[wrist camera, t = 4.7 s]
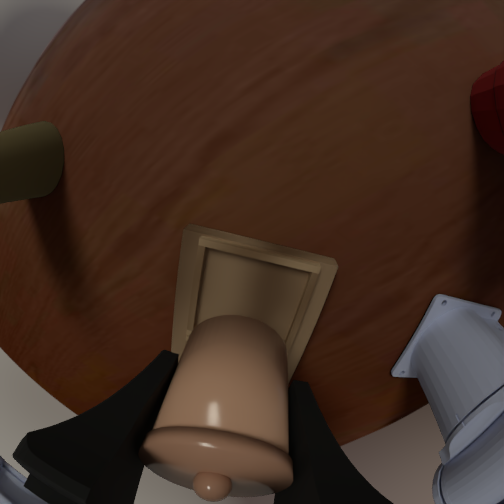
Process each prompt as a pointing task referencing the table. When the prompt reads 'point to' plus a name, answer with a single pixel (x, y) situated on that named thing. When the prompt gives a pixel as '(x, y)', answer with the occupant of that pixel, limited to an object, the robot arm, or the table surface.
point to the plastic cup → (490, 107)
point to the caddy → (249, 286)
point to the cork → (30, 161)
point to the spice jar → (225, 413)
